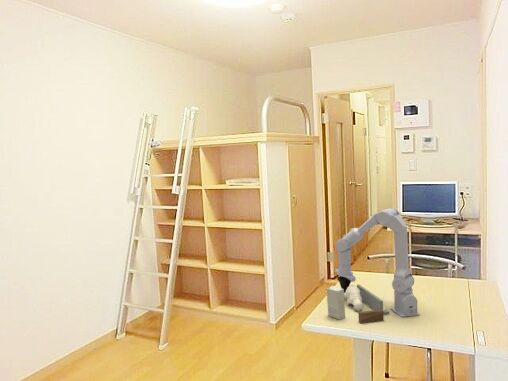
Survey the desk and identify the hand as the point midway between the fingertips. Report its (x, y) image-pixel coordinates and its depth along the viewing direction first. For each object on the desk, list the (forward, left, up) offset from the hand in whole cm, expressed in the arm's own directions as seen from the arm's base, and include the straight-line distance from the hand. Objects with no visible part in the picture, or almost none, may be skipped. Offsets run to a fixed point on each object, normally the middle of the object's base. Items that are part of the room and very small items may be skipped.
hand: (344, 292), depth 186 cm
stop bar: (-26, 0, -3) cm, 26 cm away
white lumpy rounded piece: (-11, 0, -3) cm, 11 cm away
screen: (-11, -8, -3) cm, 14 cm away
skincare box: (-18, +12, -3) cm, 22 cm away
